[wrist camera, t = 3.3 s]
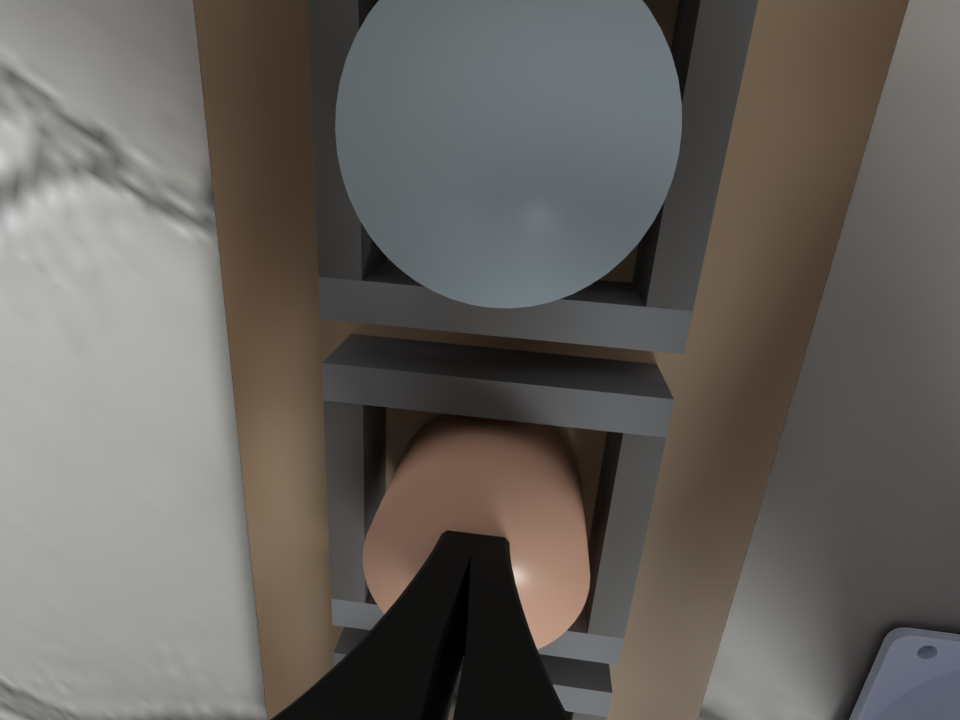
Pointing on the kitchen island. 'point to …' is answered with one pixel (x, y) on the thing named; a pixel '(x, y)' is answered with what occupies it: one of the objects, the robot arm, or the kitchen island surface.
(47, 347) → the kitchen island surface
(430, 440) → the terracotta key
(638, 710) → the three-slot key tray
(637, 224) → the pale blue dome
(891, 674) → the robot arm
